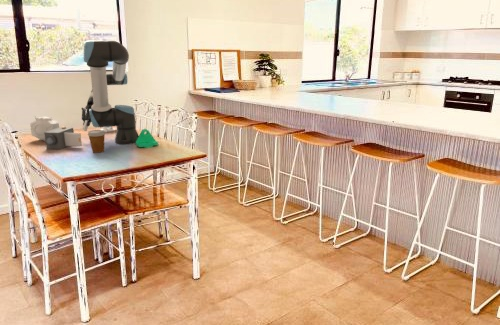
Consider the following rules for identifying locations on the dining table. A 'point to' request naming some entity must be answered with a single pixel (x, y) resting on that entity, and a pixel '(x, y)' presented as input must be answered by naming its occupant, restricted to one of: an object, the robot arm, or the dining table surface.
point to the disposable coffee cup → (97, 140)
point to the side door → (72, 139)
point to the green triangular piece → (146, 139)
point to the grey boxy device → (56, 137)
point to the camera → (42, 126)
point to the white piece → (108, 129)
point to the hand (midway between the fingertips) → (84, 129)
